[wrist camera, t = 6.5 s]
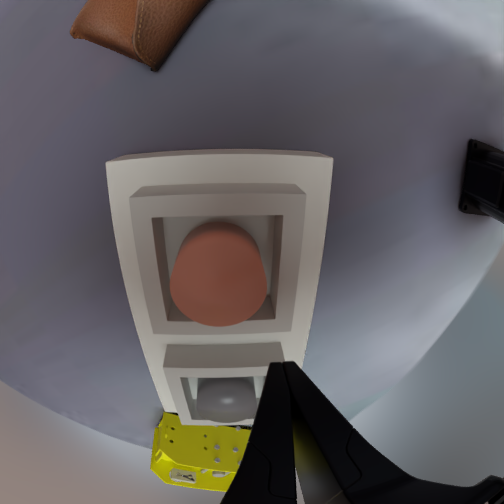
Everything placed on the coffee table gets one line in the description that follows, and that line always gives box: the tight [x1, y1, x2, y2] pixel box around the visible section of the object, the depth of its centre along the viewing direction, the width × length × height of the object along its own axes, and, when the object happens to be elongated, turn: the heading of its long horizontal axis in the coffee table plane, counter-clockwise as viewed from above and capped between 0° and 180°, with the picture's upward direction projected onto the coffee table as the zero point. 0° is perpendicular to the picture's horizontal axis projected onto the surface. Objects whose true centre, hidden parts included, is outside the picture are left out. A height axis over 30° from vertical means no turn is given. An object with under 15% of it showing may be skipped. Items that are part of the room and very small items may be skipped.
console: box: [106, 149, 333, 425], centre depth 18 cm, size 12×22×5 cm, turn 179°
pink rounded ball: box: [170, 222, 267, 327], centre depth 14 cm, size 4×4×3 cm
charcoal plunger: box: [196, 376, 257, 423], centre depth 19 cm, size 4×4×3 cm
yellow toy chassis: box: [150, 412, 251, 492], centre depth 26 cm, size 16×6×8 cm, turn 63°
